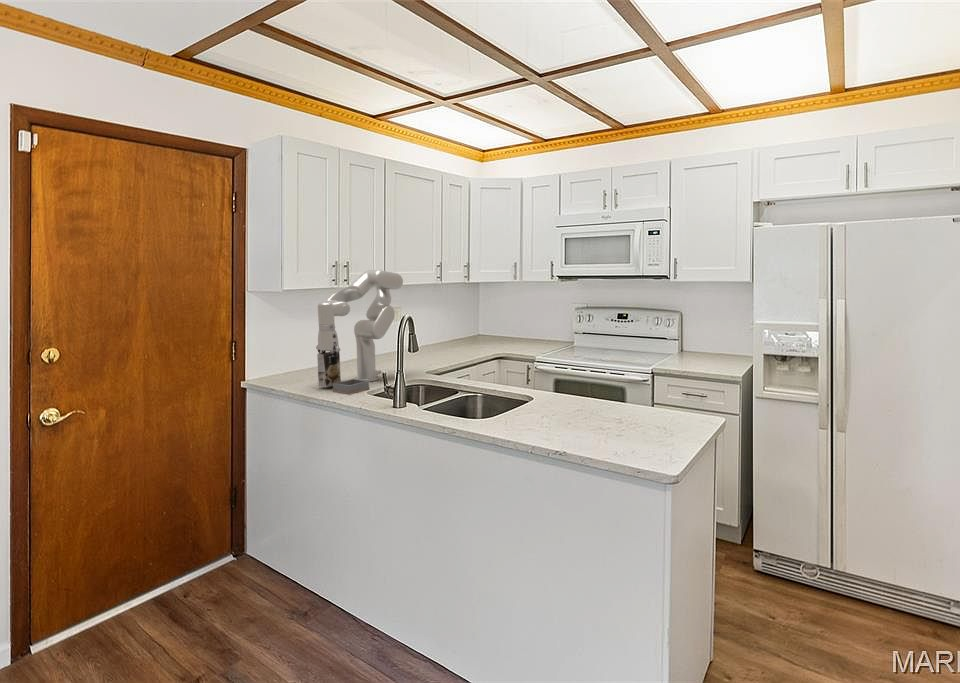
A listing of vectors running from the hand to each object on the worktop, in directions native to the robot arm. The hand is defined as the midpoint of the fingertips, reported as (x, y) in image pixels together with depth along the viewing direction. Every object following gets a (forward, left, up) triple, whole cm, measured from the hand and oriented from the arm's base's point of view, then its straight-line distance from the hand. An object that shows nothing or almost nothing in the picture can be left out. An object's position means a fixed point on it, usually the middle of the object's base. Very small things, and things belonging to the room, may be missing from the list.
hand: (328, 363), depth 278 cm
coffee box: (0, 0, -11) cm, 11 cm away
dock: (-1, +14, -12) cm, 18 cm away
